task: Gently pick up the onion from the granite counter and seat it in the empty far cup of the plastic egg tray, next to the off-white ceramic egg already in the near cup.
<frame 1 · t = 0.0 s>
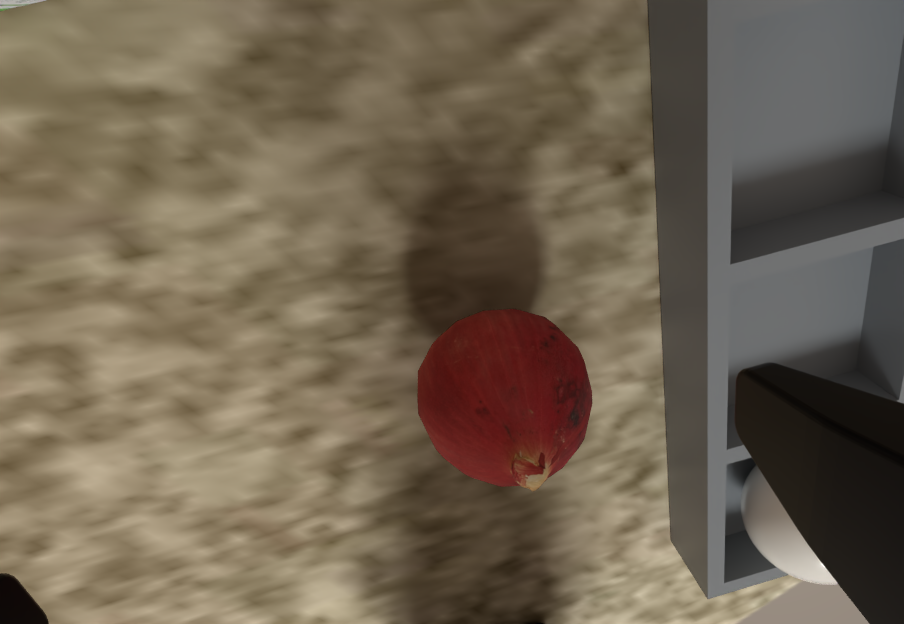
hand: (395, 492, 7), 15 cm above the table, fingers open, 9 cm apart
egg tray: (763, 306, 26), on the table
onion: (479, 338, 24), on the table
ceramic egg: (771, 468, 28), point 1 cm above the table, touching egg tray
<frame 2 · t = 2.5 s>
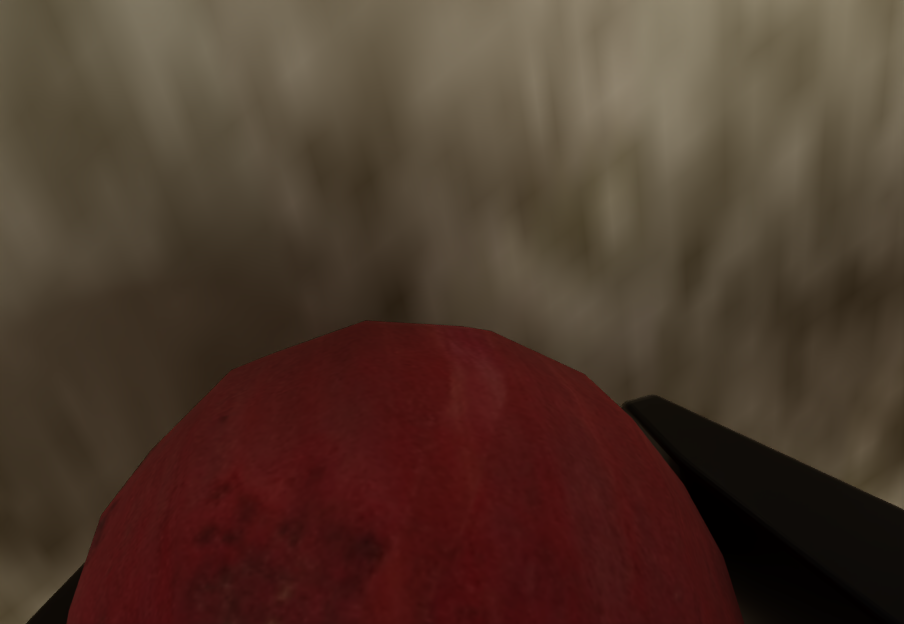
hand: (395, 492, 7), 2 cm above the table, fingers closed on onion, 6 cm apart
onion: (382, 397, 9), on the table, touching gripper
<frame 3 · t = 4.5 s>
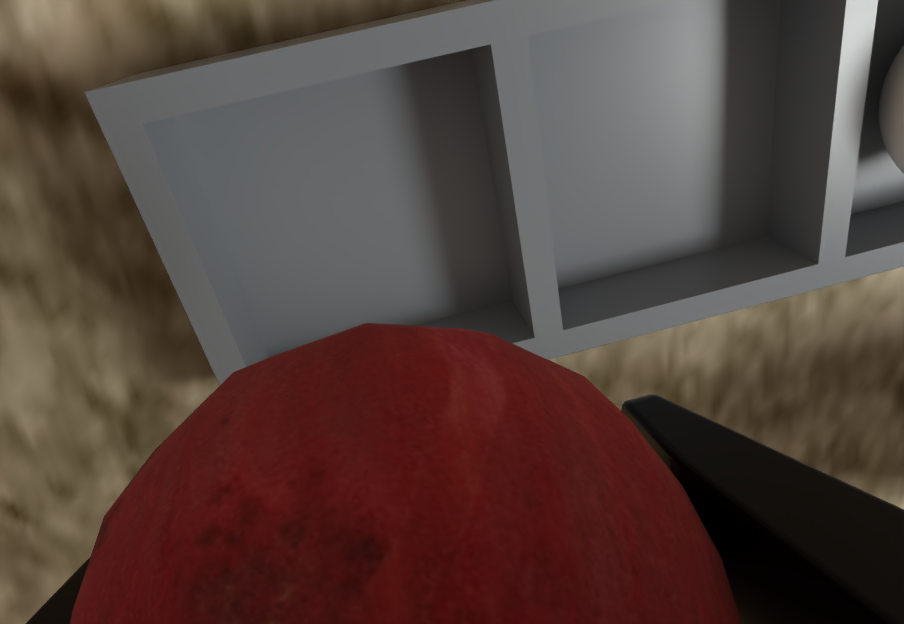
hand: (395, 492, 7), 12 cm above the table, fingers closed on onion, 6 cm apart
egg tray: (631, 137, 18), on the table
onion: (383, 398, 9), point 10 cm above the table, touching gripper
when the fingers open (4 cm above the table, at t = 6.6 s): onion drops 1 cm, resting on egg tray.
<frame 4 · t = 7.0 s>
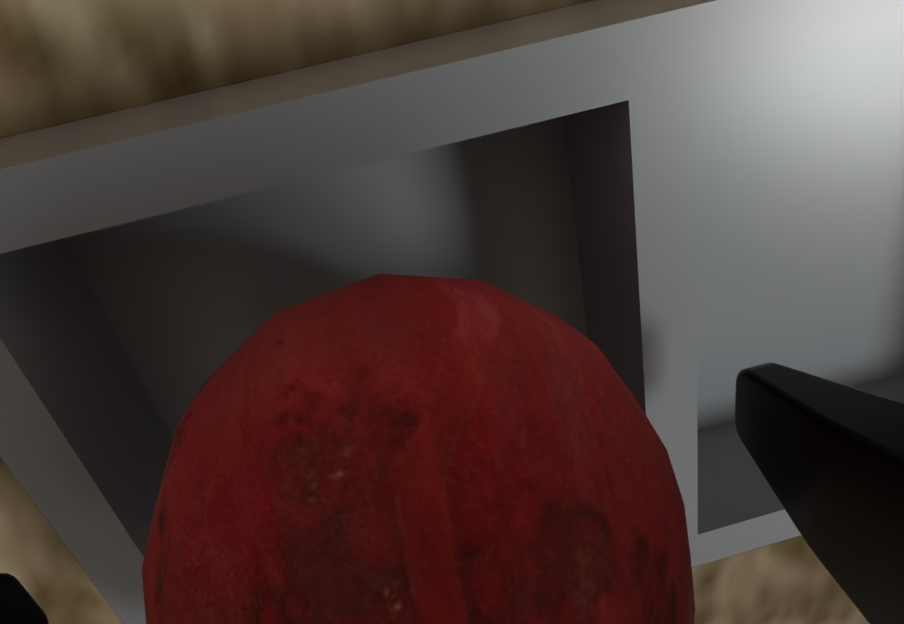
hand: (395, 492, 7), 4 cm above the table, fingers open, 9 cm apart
egg tray: (781, 215, 12), on the table
onion: (381, 353, 10), point 1 cm above the table, touching egg tray
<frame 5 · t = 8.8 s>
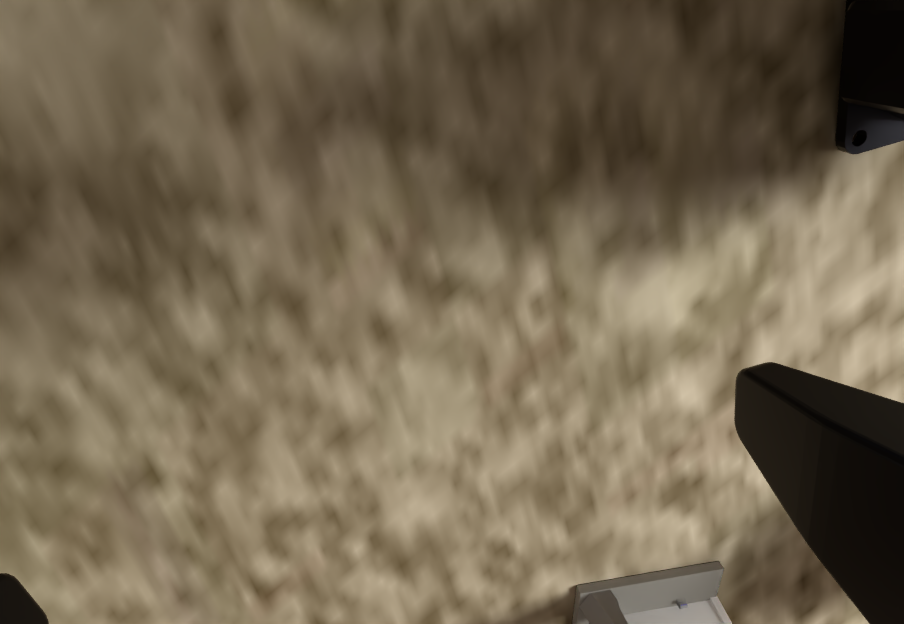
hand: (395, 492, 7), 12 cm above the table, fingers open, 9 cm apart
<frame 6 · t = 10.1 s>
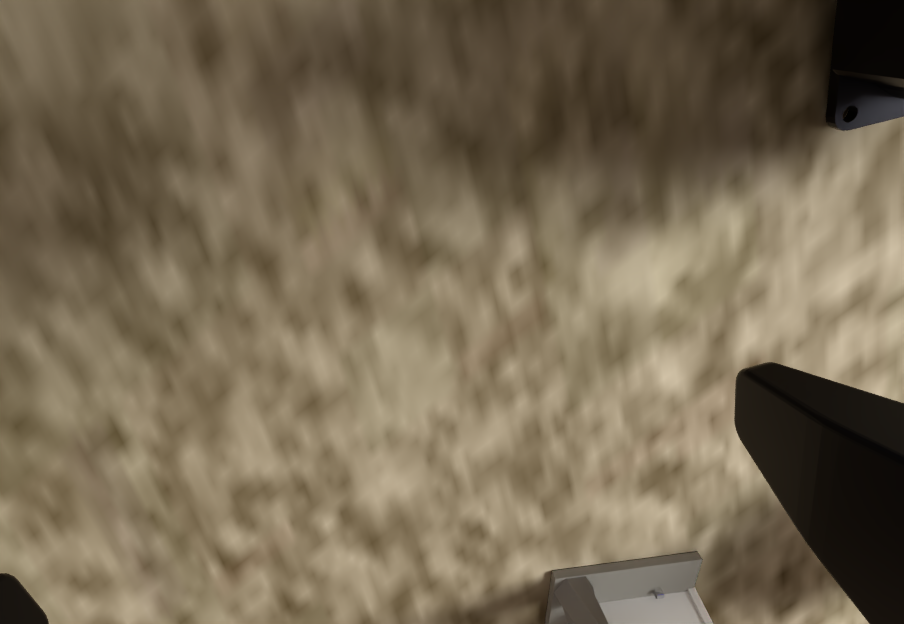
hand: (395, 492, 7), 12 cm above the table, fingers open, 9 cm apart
skyscraper: (625, 614, 30), on the table
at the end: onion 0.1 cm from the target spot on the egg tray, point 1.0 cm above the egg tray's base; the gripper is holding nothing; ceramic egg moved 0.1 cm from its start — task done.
